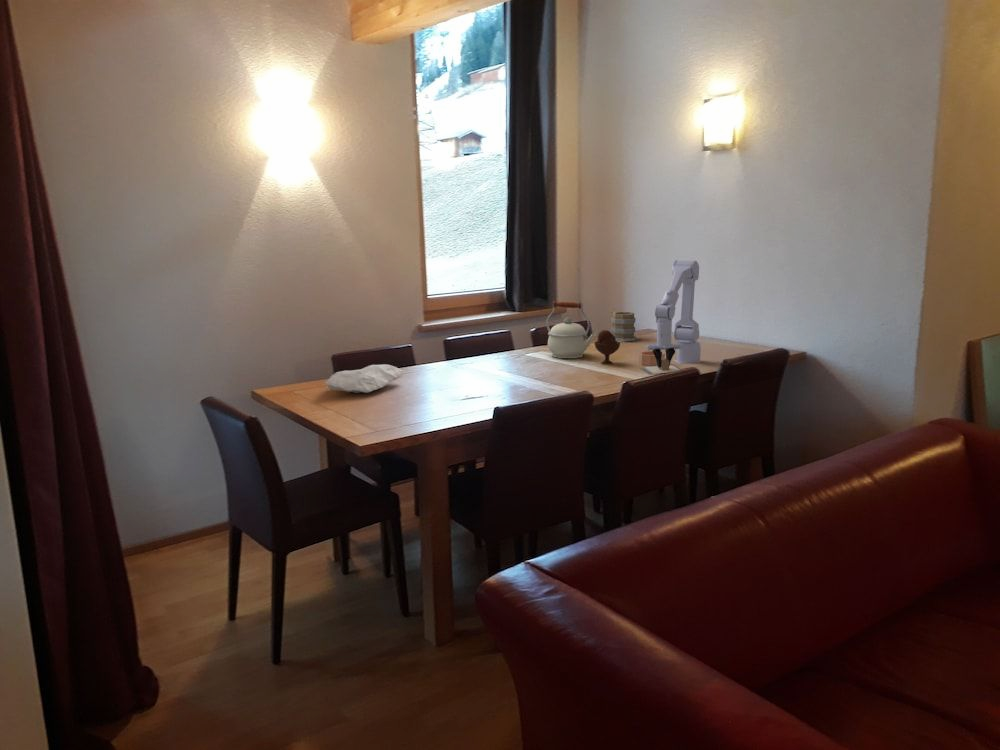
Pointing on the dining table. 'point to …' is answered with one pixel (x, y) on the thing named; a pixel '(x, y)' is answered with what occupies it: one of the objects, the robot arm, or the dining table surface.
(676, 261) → the robot arm
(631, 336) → the tankard
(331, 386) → the crumpled cloth
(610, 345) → the ice cream bowl
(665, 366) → the lid
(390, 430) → the dining table surface
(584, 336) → the kettle
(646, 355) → the bowl
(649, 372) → the mat
